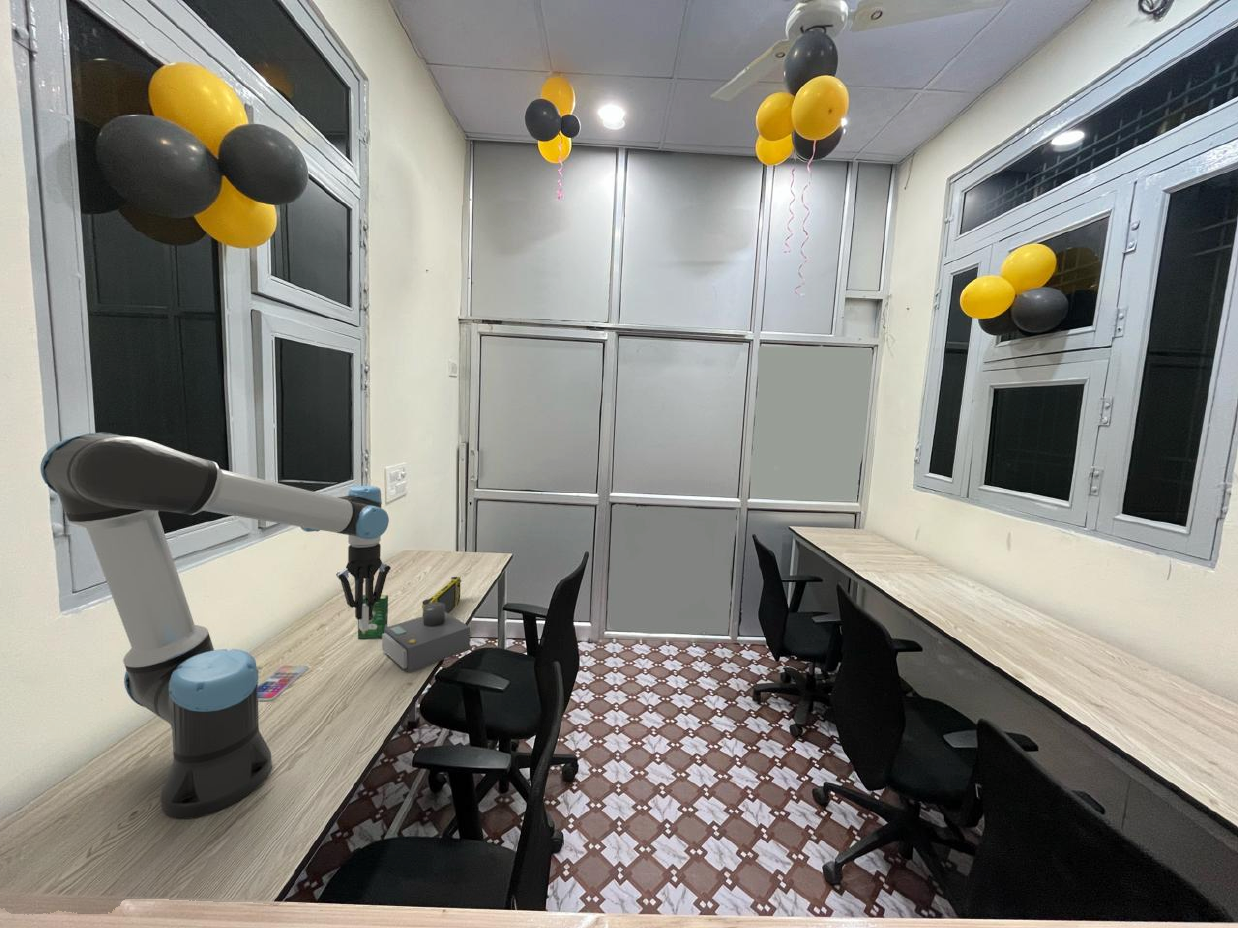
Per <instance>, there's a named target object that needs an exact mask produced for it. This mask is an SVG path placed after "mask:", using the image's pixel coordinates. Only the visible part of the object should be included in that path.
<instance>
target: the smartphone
mask: <svg viewBox="0 0 1238 928" xmlns="http://www.w3.org/2000/svg"><path fill="white" fill-rule="evenodd" d="M308 670H310V667H309V666H307V665H282V666H280V667H279V668H278V669H277V670H276V671H274V672H273V673H271V674H270V675H269V676H268V677H266V678H265V679H264V680H263V681H261V682H260V683H258V703H261V702H268V703H270V702H272V701H274V700H276V699H277V698H278V697H280V696H281V695H282V694H283V693H284V692H285V691H286V690H288V689H289V688H290V686H291V685H292V684H294V683H295V682H296V681H297V680H298V679H299V678H301V676H302V675H304V674H305V673H306V672H307V671H308Z"/></svg>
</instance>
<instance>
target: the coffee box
mask: <svg viewBox="0 0 1238 928" xmlns="http://www.w3.org/2000/svg"><path fill="white" fill-rule="evenodd" d="M363 604H366V603H365V594H363ZM388 607H389V595H388V594H386V595H384V594H381V598H380V601H379V602H375V603H374V606H372V616H371V617H369V622H368V630H367V631H363V632H362V631H361V630H360V629H359V620H357V639H358V640H359V639H361V640H365V639H382V634H384V628H386V627H388V619H389V618H388V613H389V608H388Z"/></svg>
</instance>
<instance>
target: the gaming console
mask: <svg viewBox="0 0 1238 928" xmlns="http://www.w3.org/2000/svg"><path fill="white" fill-rule="evenodd" d="M450 579H451V580H450V581H449V582H448V583H447V584H446V585H445V586H444V587H442V588H441V589H440V590H439V591H438V592H436V593H435V594H434V595H433V596H432V597H429V598H427V599H424V600H423V601H422V605H421V607H422V612H423V611H424V606H425V605H426V604H429V603H434V602H440V603H444V604H445V612H447V613H448V614H450V613H451V611H453V610H454V609H455V607H456V606H457V605H458V604H459V602H460V600H461V583H462V579H461V577H459V576H452V577H450Z"/></svg>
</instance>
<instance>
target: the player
mask: <svg viewBox="0 0 1238 928" xmlns="http://www.w3.org/2000/svg"><path fill="white" fill-rule="evenodd" d="M384 633H387V634H388V635H389V636H390V637H391V638H393V639H395V641H396V642H398V643H399V644H401V645H403V646H404V647H405V648H406V649H407V650H408V667H407V668H405V669H404V670H405V671H407V673H408V674H410V673H412V672H415V671H417V670H418V671H419V670H420V669H423V668H425V667H428V666H431V665H434V664H435V663H438V662H441V661H443V660H446V659H449V658H452V657H454V656H456V655H459V654H461V653H464V652H466V651H468V650H469V651H470V649H471V645H470V643H471V640H470V639H471V627H470V626H469V625H468V624H466V623H465V622H463V621H461V620H460V619H458V618H456V617H455V616H453V615H452V614H450V613H449V614H448V613H447V612H445V604H444V603H440V602H434V603H429V604H426V605H425V606H424V611H423V610H422V616H419V617H416V618H414V619H413V618H412V619H410V620H407V621H403V622H400V623H395V624H393V625H389V626H387V627H386V628H384Z"/></svg>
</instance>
